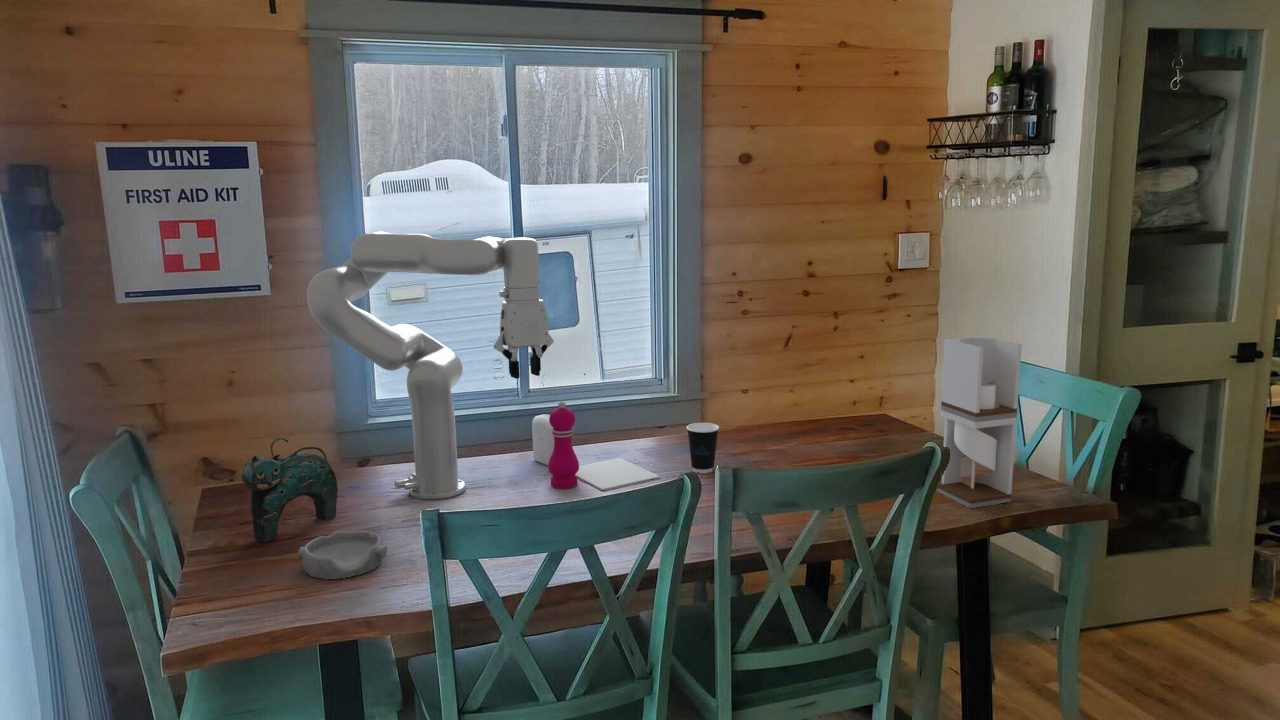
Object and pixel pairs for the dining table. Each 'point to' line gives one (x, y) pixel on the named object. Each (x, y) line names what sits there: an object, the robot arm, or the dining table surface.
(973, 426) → the architectural model tower
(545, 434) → the photo printer
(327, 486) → the ceramic cat
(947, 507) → the dining table surface
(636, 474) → the mat
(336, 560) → the dish
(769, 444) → the dining table surface
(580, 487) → the dining table surface
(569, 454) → the pepper mill
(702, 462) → the dixie cup
